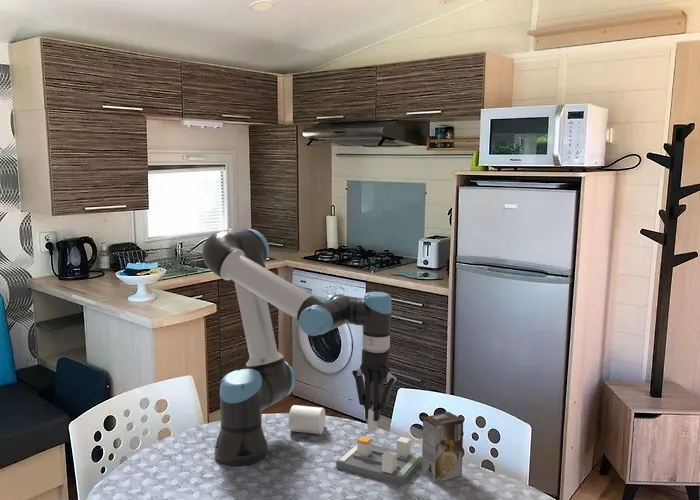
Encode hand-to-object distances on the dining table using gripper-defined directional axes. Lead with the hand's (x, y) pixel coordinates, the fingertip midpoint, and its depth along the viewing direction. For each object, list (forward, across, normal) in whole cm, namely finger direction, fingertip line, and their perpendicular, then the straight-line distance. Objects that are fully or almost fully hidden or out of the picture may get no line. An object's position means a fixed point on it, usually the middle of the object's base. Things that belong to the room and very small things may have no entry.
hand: (372, 430), depth 163 cm
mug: (+11, -27, +11) cm, 31 cm away
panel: (+10, +3, 0) cm, 10 cm away
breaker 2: (+7, +8, +5) cm, 12 cm away
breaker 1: (+7, +8, -5) cm, 12 cm away
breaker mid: (+7, -2, 0) cm, 8 cm away
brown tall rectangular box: (+9, +20, +4) cm, 22 cm away
